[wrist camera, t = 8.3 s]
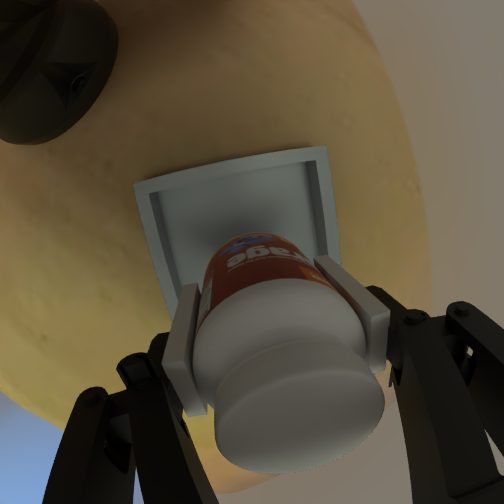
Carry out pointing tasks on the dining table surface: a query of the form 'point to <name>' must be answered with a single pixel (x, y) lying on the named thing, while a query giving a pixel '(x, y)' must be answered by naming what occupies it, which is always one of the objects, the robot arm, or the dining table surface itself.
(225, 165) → the tray
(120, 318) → the dining table surface
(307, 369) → the pill bottle
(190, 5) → the dining table surface
